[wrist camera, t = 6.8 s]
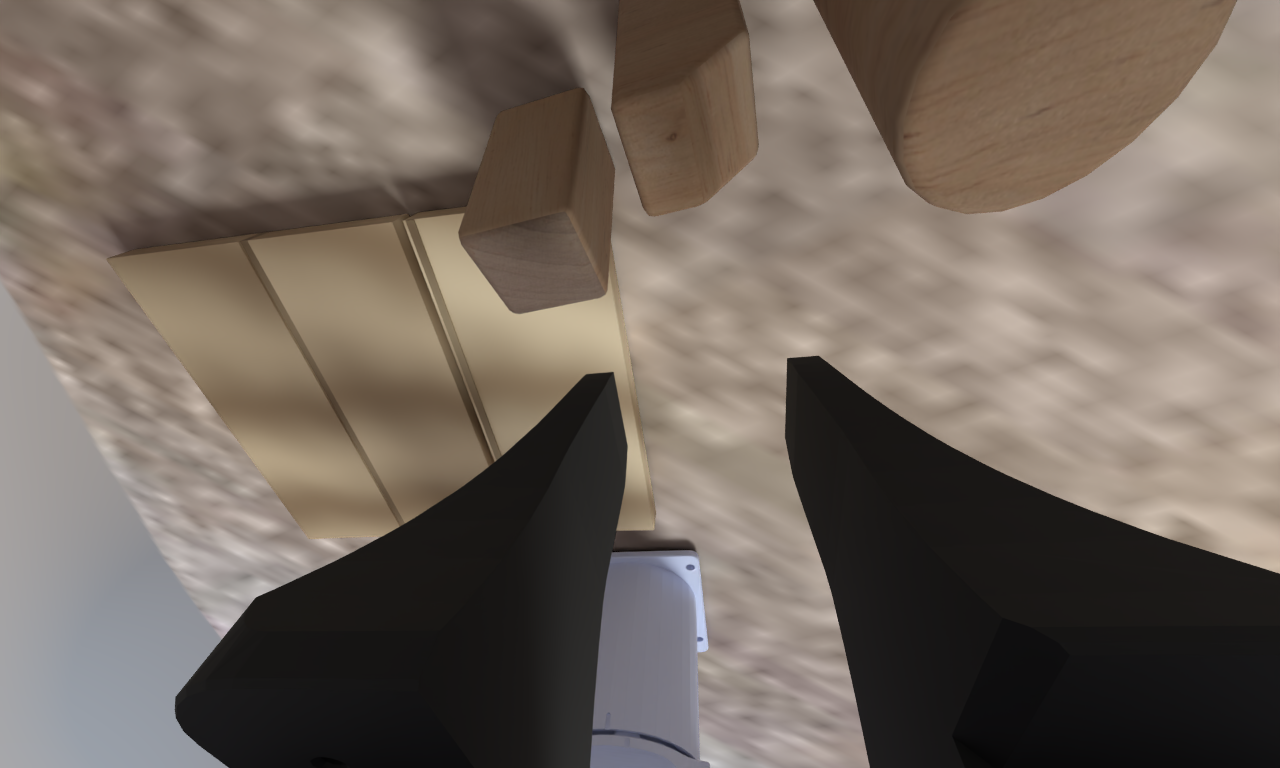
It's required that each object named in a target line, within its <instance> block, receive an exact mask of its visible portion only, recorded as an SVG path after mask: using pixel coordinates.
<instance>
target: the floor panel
mask: <svg viewBox="0 0 1280 768" xmlns="http://www.w3.org/2000/svg"><path fill="white" fill-rule="evenodd" d="M407 218H409V215H408V214H403V215H395V216H387V217H380V218H372V219H364V220H357V221H349V222H341V223H334V224H326V225H318V226H311V227H303V228H295V229H288V230H280V231H272V232H265V233H257V234H249V235H242V236H234V237H226V238H219V239H211V240H203V241H196V242H188V243H180V244H173V245H165V246H157V247H150V248H142V249H135V250H132V251H129V252H125V253H122V254H119V255H116V256H113V257H110V258H107V259H106V260H107V261H108V263H109V264H110V265H111V267H112V268H113V270H114V271H115V272H116V274H117V275H118V276H119V278H120V279H121V281H122V282H123V283H124V285H125V286H126V287H127V289H128V290H129V292H130V293H131V294H132V296H133V297H134V299H135V300H136V301H137V303H138V304H139V305H140V307H141V308H142V310H143V311H144V312H145V314H146V315H147V316H148V318H149V319H150V321H151V322H152V323H153V325H154V326H155V327H156V329H157V330H158V332H159V333H160V334H161V336H162V337H163V339H164V340H165V341H166V343H167V344H168V345H169V347H170V348H171V350H172V351H173V352H174V354H175V355H176V356H177V358H178V359H179V361H180V362H181V363H182V365H183V366H184V367H185V369H186V370H187V372H188V373H189V374H190V376H191V377H192V379H193V380H194V381H195V383H196V384H197V385H198V387H199V388H200V390H201V391H202V392H203V394H204V395H205V396H206V398H207V399H208V401H209V402H210V403H211V405H212V406H213V407H214V409H215V410H216V412H217V413H218V414H219V416H220V417H221V419H222V420H223V421H224V423H225V424H226V425H227V427H228V428H229V430H230V431H231V432H232V434H233V435H234V436H235V438H236V439H237V441H238V442H239V443H240V445H241V446H242V447H243V449H244V450H245V452H246V453H247V454H248V456H249V457H250V459H251V460H252V461H253V463H254V464H255V465H256V467H257V468H258V470H259V471H260V472H261V474H262V475H263V476H264V478H265V479H266V481H267V482H268V483H269V485H270V486H271V487H272V489H273V490H274V492H275V493H276V494H277V496H278V497H279V499H280V500H281V501H282V503H283V504H284V505H285V507H286V508H287V510H288V511H289V512H290V514H291V515H292V516H293V518H294V519H295V521H296V522H297V523H298V525H299V526H300V527H301V529H302V530H303V532H304V533H305V534H306V536H307V537H308V539H322V538H351V537H381V536H384V535H386V534H387V533H389V532H391V531H393V530H394V529H396V528H398V527H400V526H401V525H403V524H405V523H407V522H408V521H410V520H412V519H413V518H415V517H416V516H418V515H420V514H421V513H423V512H424V511H426V510H427V509H429V508H430V507H432V506H433V505H435V504H437V503H438V502H440V501H441V500H443V499H444V498H446V497H447V496H449V495H451V494H452V493H454V492H455V491H457V490H458V489H459V488H461V487H462V486H464V485H465V484H466V483H468V482H469V481H470V480H472V479H473V478H474V477H476V476H477V475H479V474H480V473H481V472H483V471H484V470H485V469H486V468H488V467H489V466H490V465H491V464H493V463H494V462H495V461H494V458H493V456H492V453H491V451H490V448H489V445H488V443H487V440H486V438H485V435H484V432H483V430H482V427H481V424H480V422H479V419H478V417H477V414H476V411H475V409H474V406H473V404H472V401H471V398H470V396H469V393H468V391H467V388H466V385H465V383H464V380H463V377H462V375H461V372H460V370H459V367H458V364H457V362H456V359H455V357H454V354H453V351H452V349H451V346H450V343H449V341H448V338H447V336H446V333H445V330H444V328H443V325H442V323H441V320H440V317H439V315H438V312H437V309H436V307H435V304H434V302H433V299H432V296H431V294H430V291H429V289H428V286H427V283H426V281H425V278H424V276H423V273H422V270H421V268H420V265H419V262H418V260H417V257H416V255H415V252H414V249H413V247H412V244H411V242H410V239H409V236H408V234H407V231H406V228H405V226H404V223H403V220H405V219H407Z"/></svg>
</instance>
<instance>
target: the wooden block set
mask: <svg viewBox="0 0 1280 768" xmlns="http://www.w3.org/2000/svg"><path fill="white" fill-rule="evenodd" d="M813 1H814V3H815V5H816V7H817V9H818V11H819V13H820V14H821V16H822V18H823V20H824V22H825V24H826V26H827V28H828V30H829V32H830V34H831V36H832V38H833V40H834V42H835V44H836V46H837V48H838V50H839V52H840V54H841V56H842V58H843V60H844V62H845V64H846V66H847V68H848V70H849V72H850V74H851V76H852V78H853V80H854V82H855V84H856V86H857V88H858V90H859V92H860V94H861V96H862V98H863V100H864V102H865V104H866V106H867V108H868V110H869V112H870V114H871V116H872V118H873V120H874V122H875V124H876V126H877V128H878V130H879V132H880V134H881V136H882V138H883V140H884V142H885V144H886V146H887V148H888V150H889V152H890V154H891V156H892V158H893V160H894V162H895V164H896V166H897V168H898V170H899V172H900V174H901V176H902V178H903V180H904V182H905V184H906V185H907V186H908V187H909V188H910V189H912V190H913V191H914V192H915V193H917V194H918V195H919V196H920V197H922V198H923V199H924V200H925V201H927V202H928V203H929V204H932V205H934V206H936V207H940V208H944V209H948V210H952V211H956V212H960V213H964V214H974V213H987V212H1000V211H1005V210H1008V209H1011V208H1014V207H1018V206H1021V205H1024V204H1027V203H1030V202H1033V201H1036V200H1040V199H1043V198H1045V197H1047V196H1049V195H1050V194H1052V193H1054V192H1056V191H1058V190H1060V189H1062V188H1064V187H1066V186H1068V185H1069V184H1071V183H1073V182H1075V181H1077V180H1079V179H1081V178H1083V177H1085V176H1087V175H1088V174H1089V173H1091V172H1092V171H1094V170H1095V169H1096V168H1098V167H1099V166H1100V165H1102V164H1103V163H1104V162H1106V161H1107V160H1108V159H1110V158H1111V157H1113V156H1114V155H1115V154H1117V153H1118V152H1119V151H1121V150H1122V149H1123V148H1125V147H1126V146H1127V145H1129V144H1130V143H1132V142H1133V141H1134V140H1135V139H1136V138H1137V137H1138V136H1139V135H1140V134H1141V133H1142V132H1143V131H1144V130H1145V129H1146V128H1147V127H1148V126H1149V125H1150V124H1151V123H1152V122H1153V121H1154V120H1155V119H1156V118H1157V117H1158V116H1159V115H1160V114H1161V113H1162V112H1163V111H1164V110H1165V109H1166V108H1167V107H1168V106H1169V105H1170V104H1171V103H1172V102H1173V101H1174V100H1175V99H1176V98H1177V97H1178V96H1179V95H1180V94H1181V92H1182V91H1183V89H1184V88H1185V87H1186V85H1187V84H1188V83H1189V81H1190V80H1191V79H1192V77H1193V76H1194V74H1195V73H1196V72H1197V70H1198V69H1199V68H1200V66H1201V65H1202V64H1203V62H1204V61H1205V59H1206V58H1207V57H1208V55H1209V54H1210V53H1211V51H1212V50H1213V49H1214V47H1215V46H1216V45H1217V43H1218V40H1219V38H1220V36H1221V34H1222V32H1223V30H1224V28H1225V25H1226V23H1227V21H1228V19H1229V17H1230V15H1231V12H1232V10H1233V8H1234V6H1235V4H1236V2H1237V0H813ZM611 110H612V113H613V116H614V119H615V123H616V126H617V129H618V132H619V135H620V138H621V141H622V144H623V147H624V150H625V153H626V156H627V159H628V163H629V166H630V169H631V172H632V175H633V178H634V181H635V184H636V187H637V190H638V193H639V196H640V200H641V203H642V206H643V208H644V210H645V211H646V212H647V214H648V215H649V216H659V215H663V214H667V213H672V212H676V211H680V210H684V209H688V208H692V207H696V206H699V205H701V204H703V203H705V202H707V201H708V200H709V199H710V198H711V197H713V196H714V195H715V194H716V193H717V192H718V191H719V190H720V189H721V188H722V187H723V186H724V185H726V184H727V183H728V182H729V181H730V180H731V179H732V178H733V177H734V176H735V175H736V174H737V173H739V172H740V171H741V170H742V169H743V168H744V167H745V166H746V165H747V164H748V163H749V162H750V161H752V160H753V158H754V157H755V156H756V154H757V151H758V145H759V144H758V132H757V121H756V110H755V98H754V87H753V75H752V64H751V53H750V41H749V33H748V30H747V26H746V23H745V19H744V15H743V12H742V8H741V5H740V1H739V0H620V1H619V14H618V26H617V39H616V52H615V65H614V78H613V90H612V104H611ZM614 177H615V168H614V165H613V162H612V159H611V156H610V153H609V151H608V148H607V145H606V142H605V139H604V136H603V134H602V131H601V128H600V125H599V122H598V119H597V117H596V114H595V111H594V108H593V105H592V102H591V100H590V97H589V95H588V94H587V93H586V91H585V90H584V88H575V89H572V90H569V91H566V92H562V93H559V94H556V95H553V96H549V97H546V98H543V99H540V100H537V101H533V102H530V103H527V104H524V105H520V106H517V107H514V108H511V109H508V110H504V111H501V112H500V113H499V114H498V115H497V117H496V120H495V123H494V126H493V129H492V132H491V135H490V138H489V141H488V144H487V147H486V150H485V153H484V156H483V159H482V162H481V165H480V168H479V171H478V174H477V177H476V180H475V183H474V186H473V189H472V192H471V195H470V198H469V201H468V204H467V207H466V210H465V213H464V216H463V219H462V222H461V225H460V228H459V231H458V234H459V239H460V242H461V245H462V247H463V248H464V249H465V251H466V252H467V253H468V255H469V256H470V257H471V259H472V260H473V262H474V263H475V264H476V266H477V267H478V268H479V270H480V271H481V272H482V274H483V275H484V277H485V278H486V279H487V281H488V282H489V283H490V285H491V286H492V287H493V289H494V290H495V291H496V293H497V294H498V296H499V297H500V298H501V300H502V301H503V302H504V304H505V305H506V306H507V308H508V309H509V311H511V312H513V313H515V314H523V313H528V312H533V311H538V310H543V309H548V308H553V307H558V306H563V305H568V304H573V303H578V302H583V301H588V300H593V299H598V298H601V297H602V296H604V295H606V293H607V290H608V276H609V260H610V243H611V227H612V210H613V194H614Z"/></svg>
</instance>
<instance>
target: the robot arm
mask: <svg viewBox="0 0 1280 768" xmlns="http://www.w3.org/2000/svg"><path fill="white" fill-rule="evenodd" d="M785 439H786V444H787V449H788V455H789V460H790V464H791V469H792V474H793V478H794V481H795V485H796V488H797V491H798V493H799V496H800V499H801V502H802V505H803V508H804V511H805V514H806V517H807V520H808V523H809V526H810V529H811V531H812V534H813V537H814V540H815V543H816V546H817V549H818V552H819V555H820V558H821V560H822V563H823V566H824V569H825V572H826V575H827V579H828V582H829V586H830V589H831V592H832V596H833V600H834V604H835V609H836V613H837V617H838V622H839V626H840V630H841V634H842V639H843V643H844V647H845V652H846V656H847V661H848V666H849V670H850V675H851V679H852V684H853V688H854V693H855V697H856V702H857V707H858V712H859V716H860V721H861V726H862V731H863V736H864V741H865V746H866V750H867V755H868V760H869V765H870V768H1280V574H1279V573H1275V572H1272V571H1269V570H1266V569H1263V568H1260V567H1256V566H1253V565H1250V564H1247V563H1244V562H1240V561H1237V560H1234V559H1231V558H1228V557H1225V556H1221V555H1218V554H1215V553H1212V552H1209V551H1205V550H1202V549H1199V548H1196V547H1193V546H1190V545H1186V544H1183V543H1180V542H1177V541H1174V540H1170V539H1167V538H1165V537H1162V536H1159V535H1156V534H1153V533H1150V532H1147V531H1145V530H1142V529H1139V528H1137V527H1134V526H1131V525H1128V524H1126V523H1123V522H1120V521H1117V520H1115V519H1112V518H1109V517H1107V516H1104V515H1101V514H1098V513H1096V512H1093V511H1090V510H1088V509H1085V508H1083V507H1080V506H1078V505H1075V504H1073V503H1070V502H1068V501H1065V500H1063V499H1060V498H1058V497H1055V496H1053V495H1051V494H1049V493H1046V492H1044V491H1042V490H1039V489H1037V488H1035V487H1033V486H1030V485H1028V484H1026V483H1024V482H1021V481H1019V480H1017V479H1014V478H1012V477H1010V476H1008V475H1006V474H1004V473H1001V472H999V471H997V470H995V469H993V468H991V467H989V466H987V465H985V464H983V463H981V462H979V461H977V460H975V459H973V458H971V457H970V456H968V455H966V454H964V453H962V452H960V451H958V450H956V449H954V448H953V447H951V446H949V445H947V444H945V443H943V442H942V441H940V440H938V439H936V438H935V437H933V436H931V435H930V434H928V433H926V432H925V431H923V430H921V429H920V428H918V427H917V426H915V425H914V424H912V423H910V422H909V421H907V420H906V419H904V418H902V417H901V416H899V415H898V414H896V413H895V412H893V411H892V410H890V409H889V408H887V407H886V406H885V405H883V404H882V403H880V402H879V401H877V400H876V399H875V398H873V397H872V396H871V395H869V394H868V393H866V392H865V391H864V390H862V389H861V388H860V387H858V386H857V385H856V384H854V383H853V382H852V381H851V380H849V379H848V378H847V377H845V376H844V375H843V374H841V373H840V372H839V371H838V370H836V369H835V368H834V367H833V366H831V365H830V364H829V363H827V362H826V361H825V360H823V359H822V358H821V357H819V356H810V357H797V358H787V387H786V424H785ZM627 451H628V445H627V439H626V434H625V429H624V424H623V418H622V413H621V408H620V403H619V397H618V392H617V387H616V381H615V376H614V372H606V373H593V374H586V375H585V376H584V377H582V378H581V379H580V380H579V381H578V383H577V384H576V385H575V386H574V387H573V388H572V389H571V390H570V391H569V392H568V393H567V394H566V395H565V396H564V397H563V398H562V399H561V400H560V401H559V402H558V403H557V404H556V405H555V407H554V408H553V409H552V410H551V411H550V412H549V413H548V414H547V415H546V416H545V417H544V418H543V419H542V420H541V421H540V422H539V423H538V424H537V425H536V426H535V427H533V428H532V429H531V430H530V431H529V432H528V433H527V434H526V435H525V436H524V437H522V438H521V439H520V440H519V441H518V442H517V443H516V444H515V445H514V446H513V447H511V448H510V449H509V450H508V451H507V452H506V453H505V454H504V455H502V456H501V457H500V458H499V459H498V460H496V461H495V462H494V463H493V464H491V465H490V466H489V467H488V468H486V469H485V470H484V471H483V472H481V473H480V474H479V475H477V476H476V477H474V478H473V479H472V480H470V481H469V482H468V483H466V484H465V485H464V486H462V487H461V488H459V489H458V490H457V491H455V492H454V493H452V494H451V495H449V496H447V497H446V498H444V499H443V500H441V501H440V502H438V503H437V504H435V505H433V506H432V507H430V508H429V509H427V510H426V511H424V512H423V513H421V514H420V515H418V516H416V517H415V518H413V519H412V520H410V521H408V522H407V523H405V524H403V525H401V526H400V527H398V528H396V529H394V530H393V531H391V532H389V533H387V534H386V535H384V536H382V537H380V538H378V539H377V540H375V541H373V542H371V543H369V544H367V545H365V546H364V547H362V548H360V549H358V550H356V551H354V552H352V553H350V554H348V555H346V556H344V557H342V558H340V559H338V560H336V561H334V562H332V563H330V564H328V565H326V566H324V567H322V568H319V569H317V570H315V571H313V572H311V573H309V574H307V575H304V576H302V577H300V578H298V579H296V580H294V581H292V582H289V583H287V584H285V585H283V586H281V587H279V588H277V589H274V590H272V591H270V592H267V593H265V594H263V595H261V596H258V597H256V598H255V599H254V600H253V602H252V603H251V604H250V606H249V607H248V608H247V609H246V610H245V612H244V613H243V614H242V615H241V617H240V618H239V619H238V620H237V622H236V623H235V624H234V625H233V627H232V628H231V629H230V630H229V631H228V633H227V634H226V635H225V636H224V638H223V639H222V640H221V641H220V643H219V644H218V645H217V646H216V648H215V649H214V650H213V652H212V653H211V654H210V655H209V656H208V657H207V659H206V660H205V661H204V662H203V664H202V665H201V666H200V667H199V669H198V670H197V671H196V672H195V674H194V675H193V676H192V677H191V679H190V680H189V681H188V682H187V684H186V685H185V686H184V687H183V688H182V690H181V691H180V692H179V693H178V695H177V696H176V699H175V714H176V719H177V721H178V722H179V724H180V726H181V728H182V729H183V731H184V732H185V733H186V734H187V735H188V736H189V737H190V738H192V739H193V740H194V741H195V742H196V743H197V744H198V745H199V746H201V747H202V748H203V749H205V750H206V751H207V752H209V753H210V754H212V755H213V756H214V757H215V758H217V759H218V760H219V761H221V762H222V763H223V764H225V765H226V766H227V767H229V768H710V764H709V763H708V762H705V761H700V742H699V700H698V658H697V652H704V651H706V650H707V649H708V637H707V628H706V619H705V610H704V600H703V591H702V582H701V573H700V563H699V556H698V554H697V553H696V552H695V551H692V550H676V551H639V552H612V550H613V545H614V540H615V535H616V530H617V525H618V520H619V515H620V510H621V505H622V500H623V495H624V489H625V482H626V468H627Z"/></svg>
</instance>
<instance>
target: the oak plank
mask: <svg viewBox="0 0 1280 768" xmlns="http://www.w3.org/2000/svg"><path fill="white" fill-rule="evenodd" d="M466 207H467V206H466ZM466 207H458V208H450V209H442V210H434V211H426V212H419V213H417V214H415V215H413V216H411V217H409V218H407V219H405V220H403V223H404V226H405V228H406V231H407V234H408V236H409V239H410V242H411V244H412V247H413V249H414V252H415V255H416V257H417V260H418V262H419V265H420V268H421V270H422V273H423V276H424V278H425V281H426V283H427V286H428V289H429V291H430V294H431V296H432V299H433V302H434V304H435V307H436V309H437V312H438V315H439V317H440V320H441V323H442V325H443V328H444V330H445V333H446V336H447V338H448V341H449V343H450V346H451V349H452V351H453V354H454V357H455V359H456V362H457V364H458V367H459V370H460V372H461V375H462V377H463V380H464V383H465V385H466V388H467V391H468V393H469V396H470V398H471V401H472V404H473V406H474V409H475V411H476V414H477V417H478V419H479V422H480V424H481V427H482V430H483V432H484V435H485V438H486V440H487V443H488V445H489V448H490V451H491V453H492V456H493V458H494V461H496V460H498V459H499V458H500V457H501V456H502V455H504V454H505V453H506V452H507V451H508V450H509V449H510V448H511V447H513V446H514V445H515V444H516V443H517V442H518V441H519V440H520V439H521V438H522V437H524V436H525V435H526V434H527V433H528V432H529V431H530V430H531V429H532V428H533V427H535V426H536V425H537V424H538V423H539V422H540V421H541V420H542V419H543V418H544V417H545V416H546V415H547V414H548V413H549V412H550V411H551V410H552V409H553V408H554V407H555V405H556V404H557V403H558V402H559V401H560V400H561V399H562V398H563V397H564V396H565V395H566V394H567V393H568V392H569V391H570V390H571V389H572V388H573V387H574V386H575V385H576V384H577V383H578V381H579V380H580V379H581V378H582V377H584V376H585V375H586V374H593V373H606V372H614V376H615V381H616V387H617V392H618V397H619V403H620V408H621V413H622V418H623V424H624V429H625V434H626V439H627V445H628V451H627V468H626V482H625V489H624V495H623V500H622V505H621V510H620V515H619V520H618V525H617V530H616V531H624V530H654V526H655V516H656V510H655V504H654V498H653V492H652V486H651V480H650V474H649V468H648V462H647V456H646V449H645V443H644V437H643V431H642V425H641V419H640V413H639V407H638V401H637V395H636V389H635V383H634V377H633V371H632V365H631V359H630V353H629V347H628V341H627V335H626V329H625V323H624V317H623V311H622V305H621V299H620V293H619V287H618V281H617V275H616V269H615V263H614V257H613V251H612V245H611V243H610V260H609V276H608V290H607V293H606V295H604V296H602V297H601V298H598V299H593V300H588V301H583V302H578V303H573V304H568V305H563V306H558V307H553V308H548V309H543V310H538V311H533V312H528V313H523V314H515V313H513V312H511V311H509V309H508V308H507V306H506V305H505V304H504V302H503V301H502V300H501V298H500V297H499V296H498V294H497V293H496V291H495V290H494V289H493V287H492V286H491V285H490V283H489V282H488V281H487V279H486V278H485V277H484V275H483V274H482V272H481V271H480V270H479V268H478V267H477V266H476V264H475V263H474V262H473V260H472V259H471V257H470V256H469V255H468V253H467V252H466V251H465V249H464V248H463V247H462V245H461V242H460V239H459V234H458V231H459V228H460V225H461V222H462V219H463V216H464V213H465V210H466Z"/></svg>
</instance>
